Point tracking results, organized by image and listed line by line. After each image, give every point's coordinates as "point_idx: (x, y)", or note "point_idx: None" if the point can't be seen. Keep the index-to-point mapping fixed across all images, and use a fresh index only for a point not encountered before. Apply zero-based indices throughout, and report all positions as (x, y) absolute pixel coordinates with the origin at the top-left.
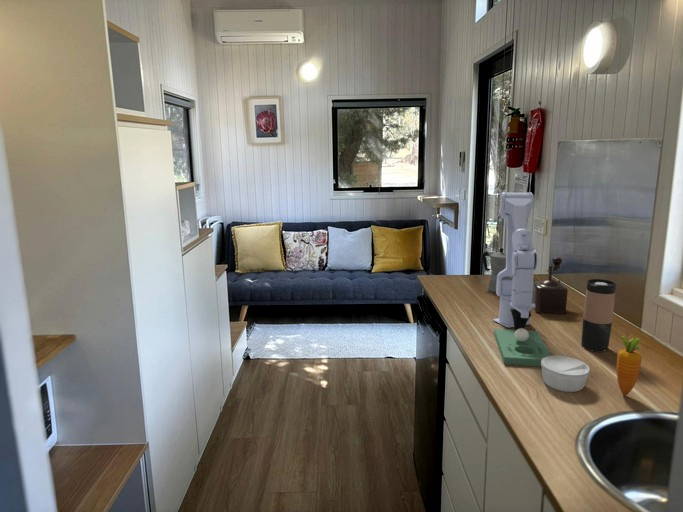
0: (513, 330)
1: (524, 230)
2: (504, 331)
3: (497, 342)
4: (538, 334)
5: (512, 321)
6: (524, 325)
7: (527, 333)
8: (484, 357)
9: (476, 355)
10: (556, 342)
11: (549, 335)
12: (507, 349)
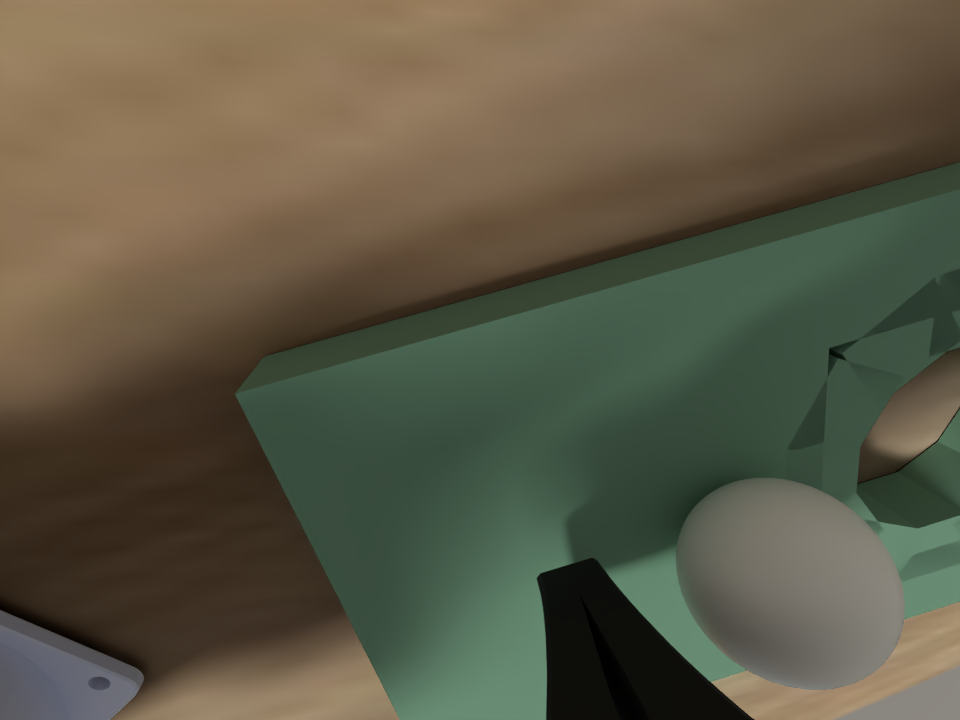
0: (385, 640)
1: None
2: (467, 695)
3: None
4: (385, 365)
5: (2, 717)
6: (687, 669)
7: (871, 544)
8: (911, 633)
9: (881, 675)
10: (334, 74)
11: (61, 193)
12: (944, 570)
